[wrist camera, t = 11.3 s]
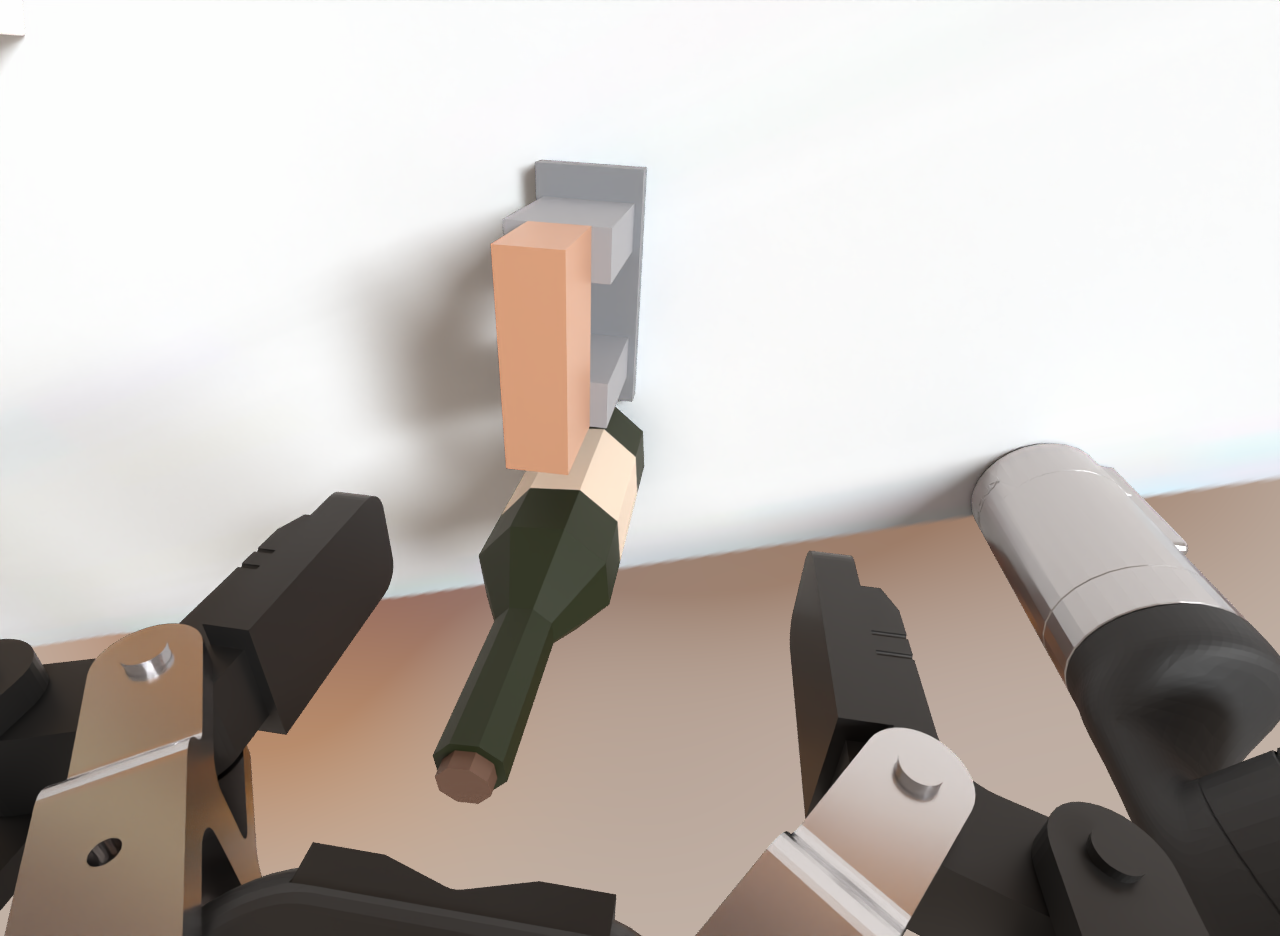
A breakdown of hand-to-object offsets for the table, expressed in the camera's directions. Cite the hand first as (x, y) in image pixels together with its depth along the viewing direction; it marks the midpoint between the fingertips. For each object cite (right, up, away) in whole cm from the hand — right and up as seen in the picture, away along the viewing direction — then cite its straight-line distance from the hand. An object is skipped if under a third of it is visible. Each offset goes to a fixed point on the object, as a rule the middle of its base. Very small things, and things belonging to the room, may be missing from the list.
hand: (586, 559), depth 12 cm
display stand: (-2, +15, +34) cm, 37 cm away
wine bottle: (-2, +4, +41) cm, 41 cm away
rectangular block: (-4, +10, +25) cm, 27 cm away
